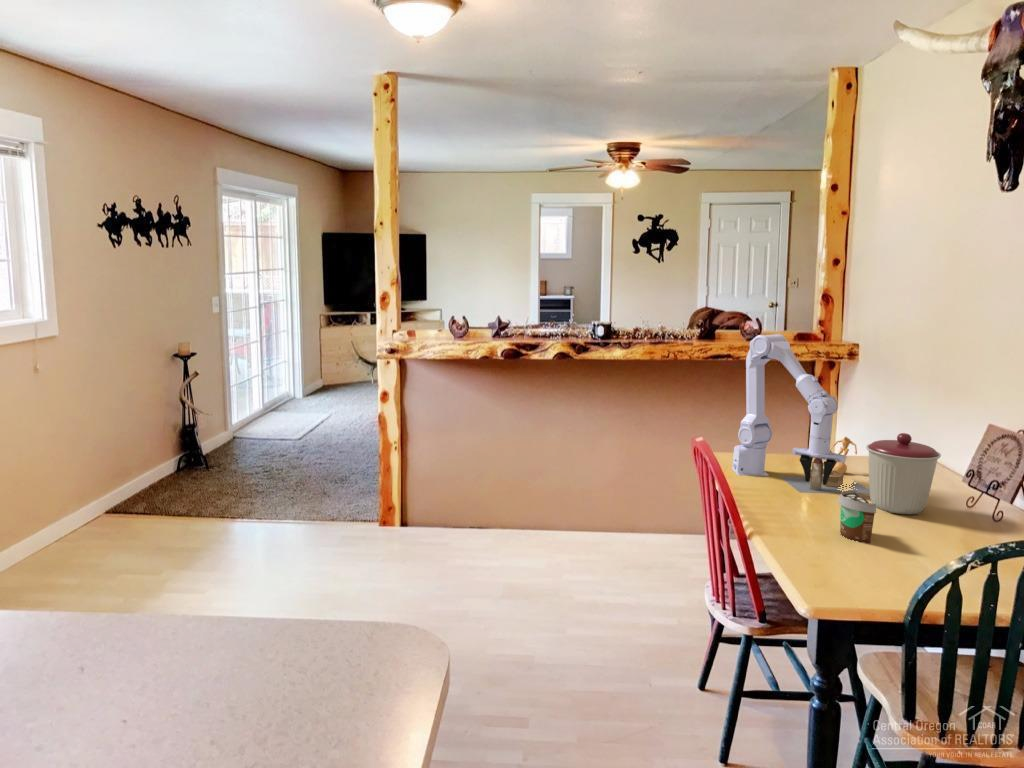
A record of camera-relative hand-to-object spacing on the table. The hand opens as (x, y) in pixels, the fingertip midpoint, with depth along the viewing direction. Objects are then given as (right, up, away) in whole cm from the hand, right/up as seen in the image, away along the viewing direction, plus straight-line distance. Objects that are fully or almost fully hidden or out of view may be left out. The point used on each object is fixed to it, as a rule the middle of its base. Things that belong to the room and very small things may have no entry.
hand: (816, 482), depth 230 cm
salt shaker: (0, -2, 0) cm, 2 cm away
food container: (-7, -8, -38) cm, 40 cm away
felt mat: (+5, -2, +5) cm, 7 cm away
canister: (+16, -6, -15) cm, 23 cm away
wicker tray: (+6, -1, +8) cm, 10 cm away
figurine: (+16, 0, +20) cm, 26 cm away
